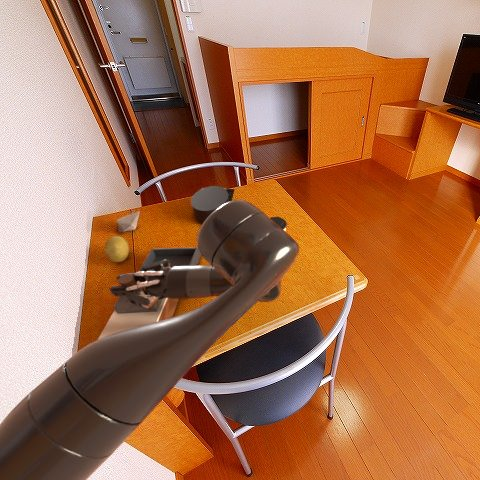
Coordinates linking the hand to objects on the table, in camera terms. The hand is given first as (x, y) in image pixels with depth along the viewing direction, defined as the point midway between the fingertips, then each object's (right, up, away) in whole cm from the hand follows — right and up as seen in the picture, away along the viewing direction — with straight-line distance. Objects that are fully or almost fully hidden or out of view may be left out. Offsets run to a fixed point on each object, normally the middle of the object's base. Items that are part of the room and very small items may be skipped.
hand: (115, 284), depth 62 cm
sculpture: (-16, +4, +25) cm, 30 cm away
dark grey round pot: (+5, +21, +46) cm, 51 cm away
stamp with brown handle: (+3, -6, +5) cm, 8 cm away
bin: (+1, -1, +20) cm, 20 cm away
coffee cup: (+32, +8, +33) cm, 46 cm away
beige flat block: (+2, -11, +8) cm, 14 cm away
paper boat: (-21, +15, +37) cm, 45 cm away
